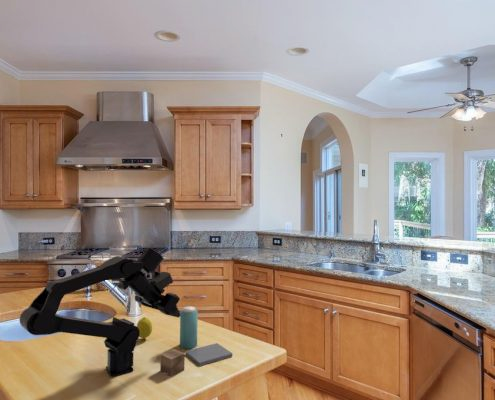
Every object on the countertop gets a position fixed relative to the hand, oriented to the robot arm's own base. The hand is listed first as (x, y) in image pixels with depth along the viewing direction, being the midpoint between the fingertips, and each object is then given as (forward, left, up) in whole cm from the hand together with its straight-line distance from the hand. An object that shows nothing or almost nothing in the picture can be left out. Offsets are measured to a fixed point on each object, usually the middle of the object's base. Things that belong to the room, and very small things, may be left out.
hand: (171, 313), depth 120 cm
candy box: (+1, +99, -13) cm, 100 cm away
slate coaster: (+9, -10, -13) cm, 18 cm away
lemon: (-4, +15, -13) cm, 21 cm away
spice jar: (+7, +1, -13) cm, 15 cm away
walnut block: (-5, -13, -13) cm, 19 cm away
